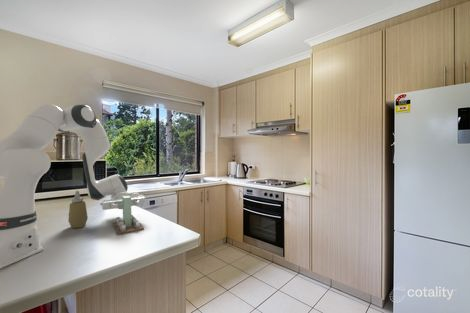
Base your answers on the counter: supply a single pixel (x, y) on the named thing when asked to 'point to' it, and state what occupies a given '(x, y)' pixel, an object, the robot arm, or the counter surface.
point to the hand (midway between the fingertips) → (127, 205)
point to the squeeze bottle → (77, 212)
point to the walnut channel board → (122, 229)
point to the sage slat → (127, 210)
